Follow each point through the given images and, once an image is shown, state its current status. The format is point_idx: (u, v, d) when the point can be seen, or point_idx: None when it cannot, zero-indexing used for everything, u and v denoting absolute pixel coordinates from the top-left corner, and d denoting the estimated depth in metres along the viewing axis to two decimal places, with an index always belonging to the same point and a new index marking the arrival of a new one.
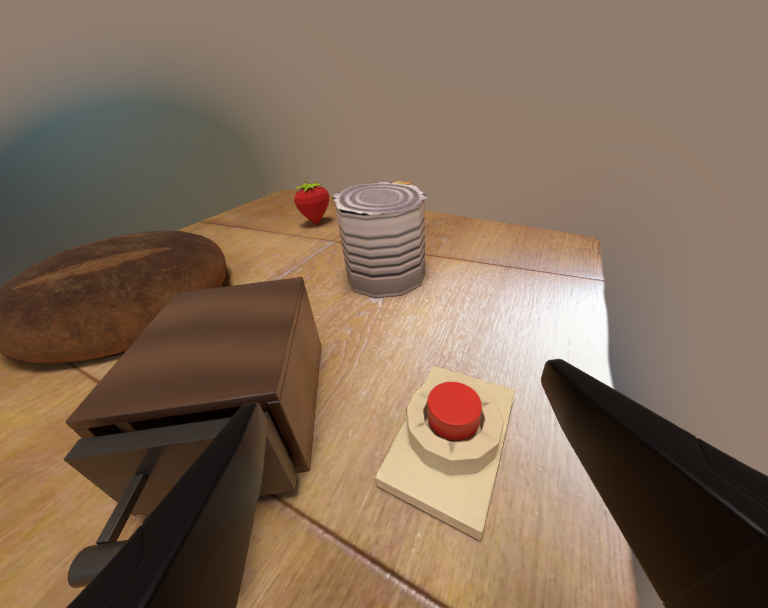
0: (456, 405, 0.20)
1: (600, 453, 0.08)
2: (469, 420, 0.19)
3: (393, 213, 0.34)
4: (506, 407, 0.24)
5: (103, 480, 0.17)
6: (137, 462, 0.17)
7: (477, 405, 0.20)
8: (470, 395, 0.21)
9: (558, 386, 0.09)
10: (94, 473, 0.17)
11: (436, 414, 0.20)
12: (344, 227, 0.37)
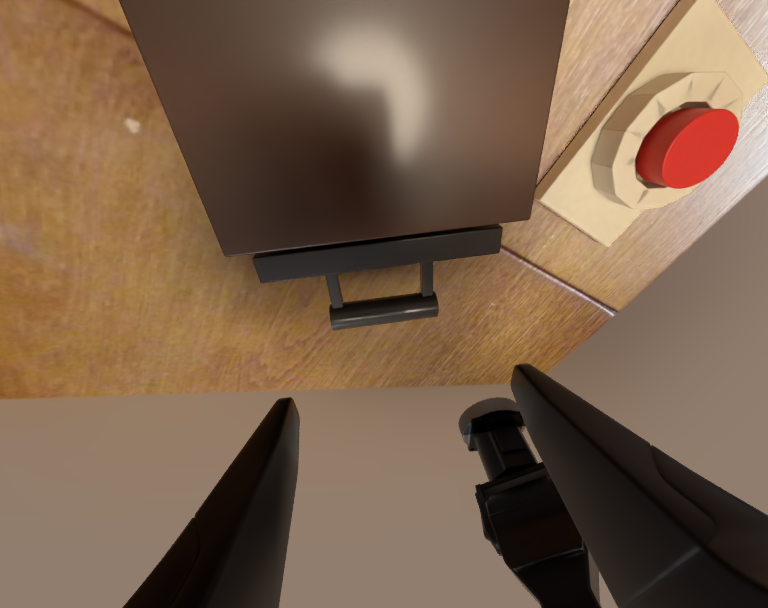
0: (697, 158, 0.15)
1: (562, 459, 0.08)
2: (694, 183, 0.16)
3: None
4: None
5: None
6: None
7: (720, 160, 0.16)
8: (726, 142, 0.15)
9: (525, 391, 0.09)
10: None
11: (665, 172, 0.16)
12: None
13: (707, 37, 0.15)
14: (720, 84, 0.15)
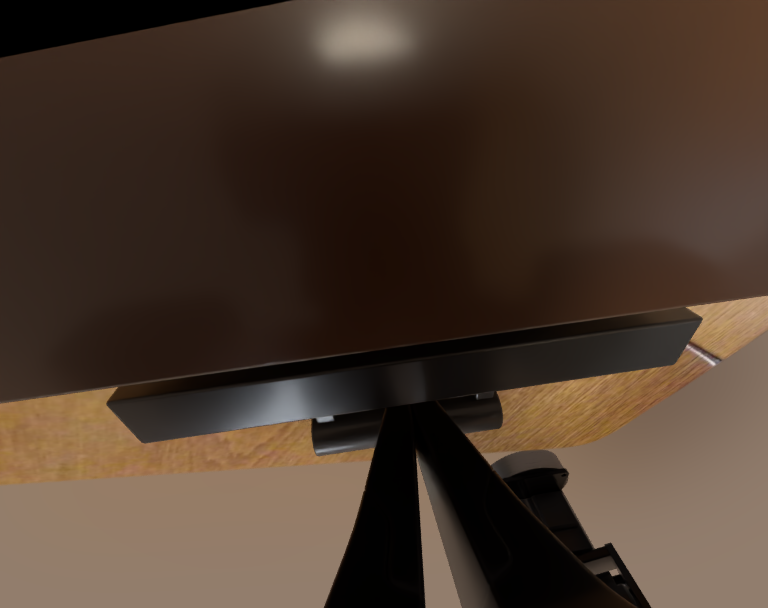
0: None
1: (429, 480, 0.08)
2: None
3: None
4: None
5: None
6: None
7: None
8: None
9: None
10: None
11: None
12: None
13: None
14: None
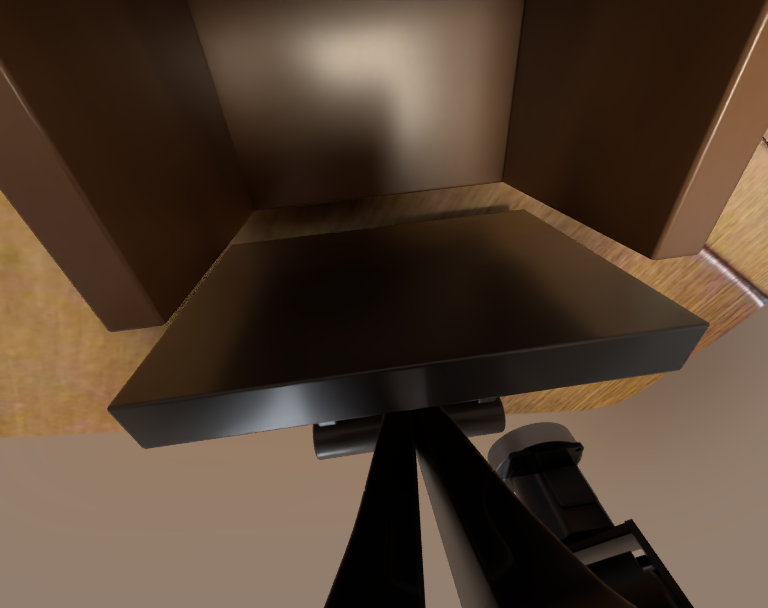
0: None
1: (429, 480, 0.08)
2: None
3: None
4: None
5: None
6: None
7: None
8: None
9: None
10: None
11: None
12: None
13: None
14: None
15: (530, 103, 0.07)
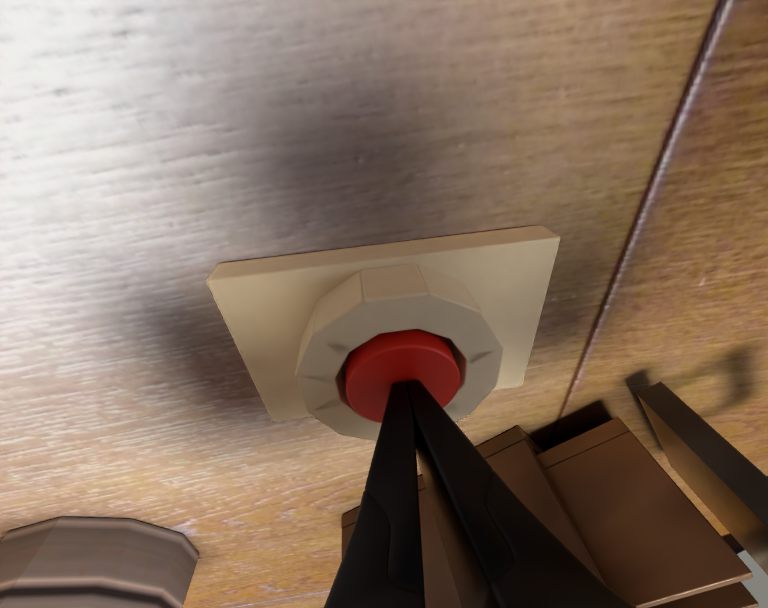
0: None
1: (429, 480, 0.08)
2: (436, 354, 0.09)
3: None
4: (275, 282, 0.09)
5: None
6: None
7: (390, 358, 0.09)
8: (371, 375, 0.09)
9: None
10: None
11: (449, 398, 0.10)
12: None
13: (283, 390, 0.12)
14: (319, 406, 0.10)
15: None
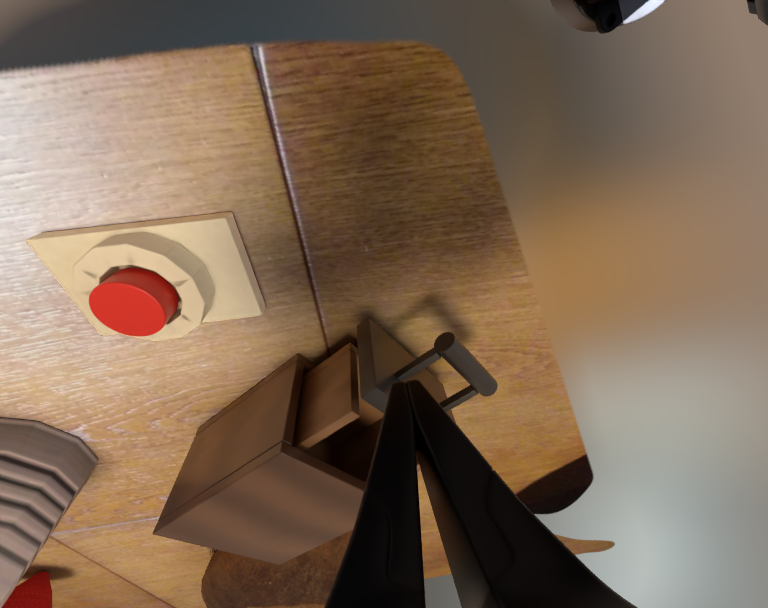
0: (130, 307, 0.16)
1: (429, 480, 0.08)
2: (134, 288, 0.16)
3: None
4: (65, 241, 0.17)
5: None
6: None
7: (105, 289, 0.16)
8: (100, 300, 0.16)
9: None
10: None
11: (162, 318, 0.17)
12: (15, 579, 0.22)
13: None
14: None
15: None
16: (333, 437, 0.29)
